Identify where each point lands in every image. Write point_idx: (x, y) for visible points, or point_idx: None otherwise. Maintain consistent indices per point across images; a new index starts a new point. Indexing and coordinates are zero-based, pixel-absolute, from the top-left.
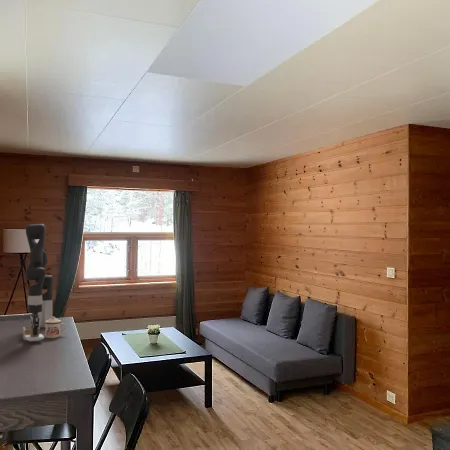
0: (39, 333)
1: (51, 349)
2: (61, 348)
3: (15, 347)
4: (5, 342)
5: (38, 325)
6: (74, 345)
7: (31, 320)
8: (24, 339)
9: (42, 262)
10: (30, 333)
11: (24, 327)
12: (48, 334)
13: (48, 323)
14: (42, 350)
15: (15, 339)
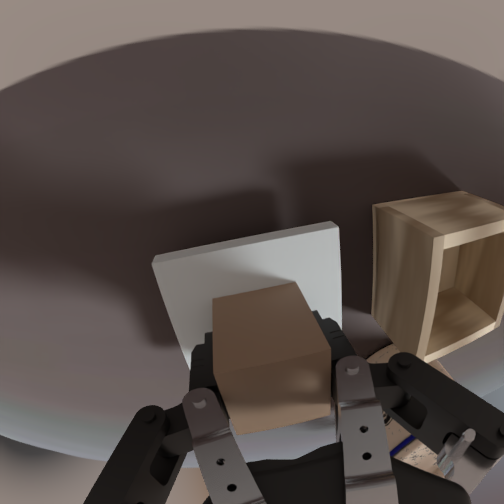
0: (391, 338)
1: (27, 377)
2: (52, 413)
3: (84, 144)
4: (343, 41)
5: (151, 464)
6: None
7: (342, 449)
8: (382, 204)
9: None
10: (275, 304)
11: None
12: None
13: (402, 445)
14: (2, 337)
15: (428, 132)
